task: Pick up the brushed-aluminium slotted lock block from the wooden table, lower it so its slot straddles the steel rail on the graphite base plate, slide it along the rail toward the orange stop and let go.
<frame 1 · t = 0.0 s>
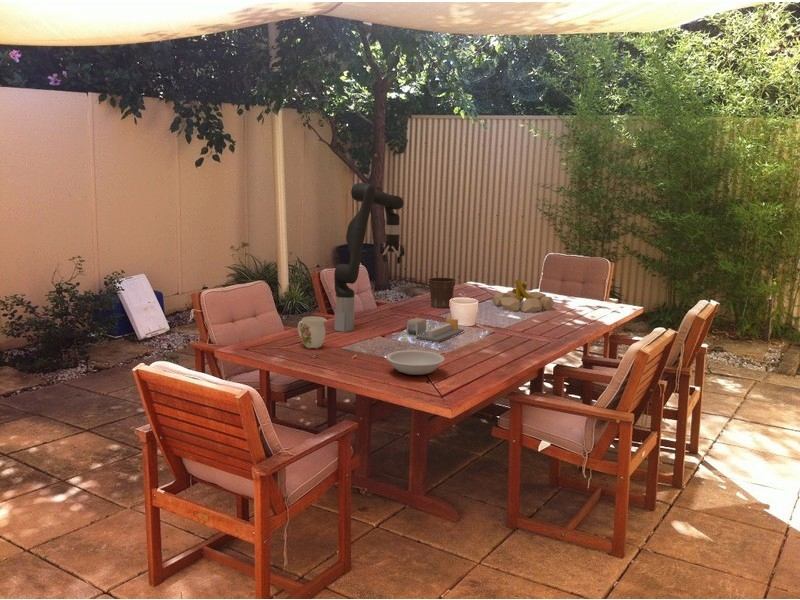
hand: (391, 262, 427), 29 cm above the table, tool pointing down, fingers open, 8 cm apart
coupler stand: (440, 335, 387), on the table
soup bowl: (414, 373, 321), on the table
campfire: (522, 307, 468), on the table
lock block: (416, 333, 391), on the table
plant pot: (440, 306, 463), on the table
pitcher: (311, 346, 359), on the table
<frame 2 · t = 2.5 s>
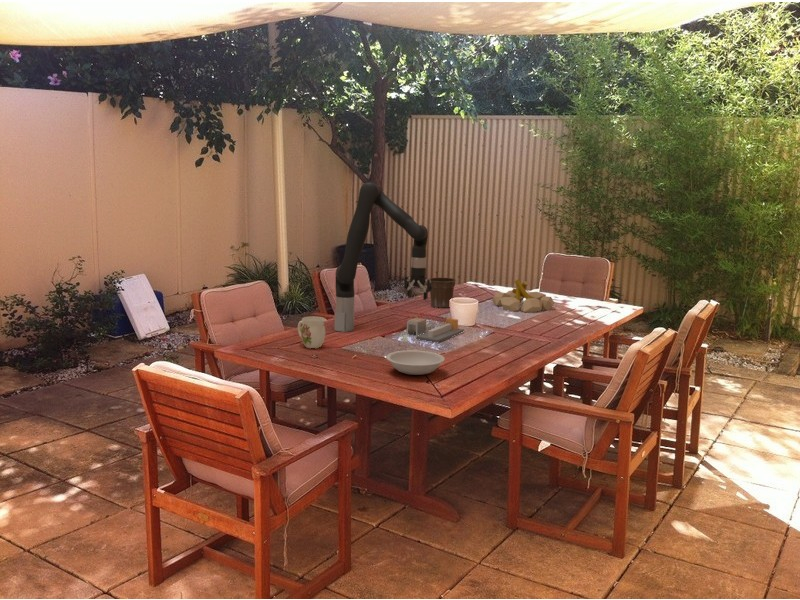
hand: (417, 298, 388), 18 cm above the table, tool pointing down, fingers open, 8 cm apart
nothing on the table moved.
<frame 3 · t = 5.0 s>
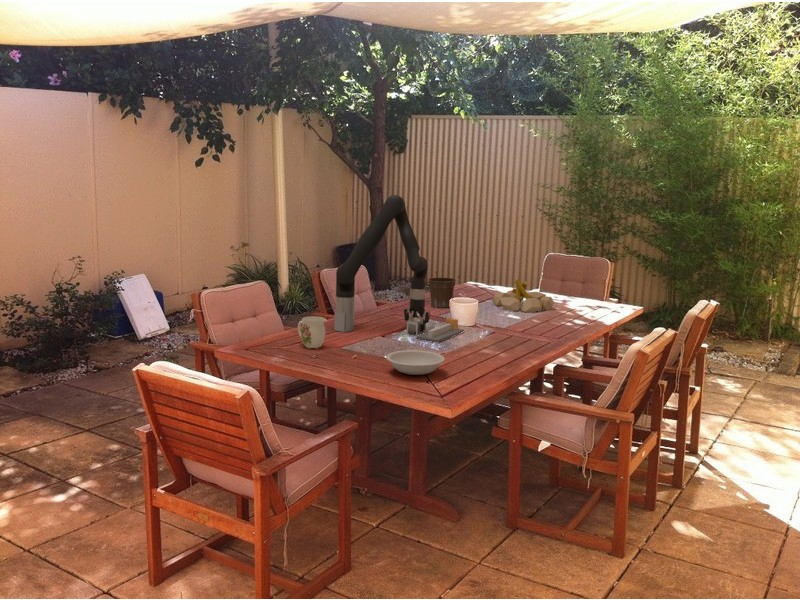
hand: (416, 330, 390), 2 cm above the table, tool pointing down, fingers closed on lock block, 6 cm apart
lock block: (416, 333, 391), on the table, touching gripper
everything else where it was.
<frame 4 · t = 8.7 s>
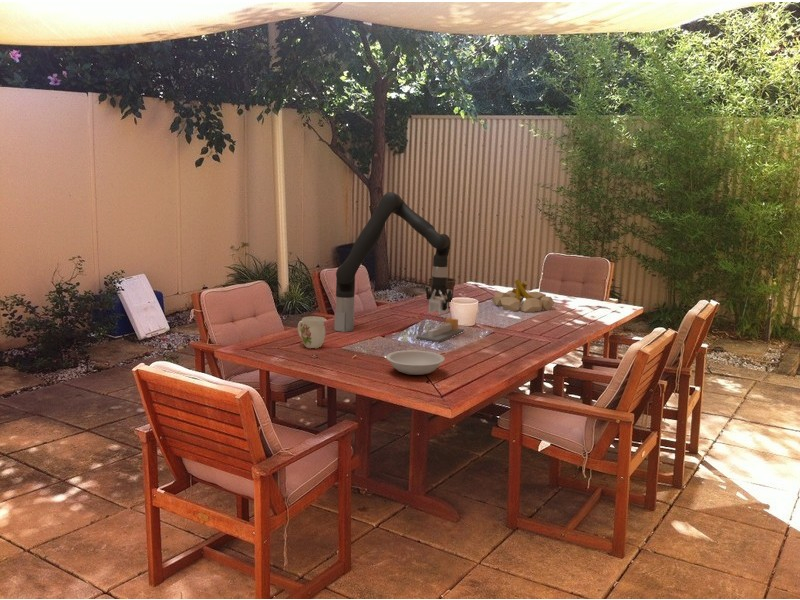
hand: (438, 309, 382), 14 cm above the table, tool pointing down, fingers closed on lock block, 6 cm apart
lock block: (438, 312, 383), point 12 cm above the table, touching gripper
everything else where it was.
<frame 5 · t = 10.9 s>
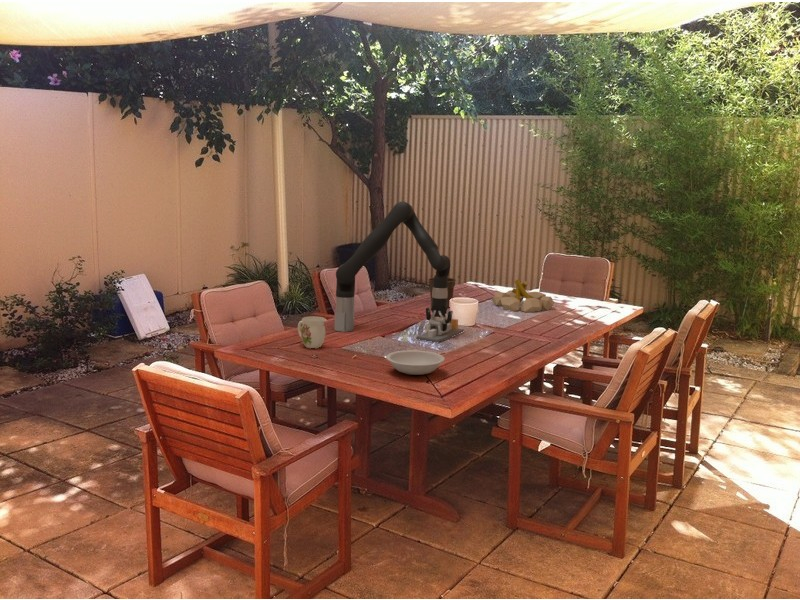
hand: (438, 329, 385), 3 cm above the table, tool pointing down, fingers closed on lock block, 6 cm apart
lock block: (438, 333, 385), point 2 cm above the table, touching gripper
everything else where it was.
when the fingers open (3 cm above the table, at t = 12.7 s): lock block stays where it is, resting on coupler stand.
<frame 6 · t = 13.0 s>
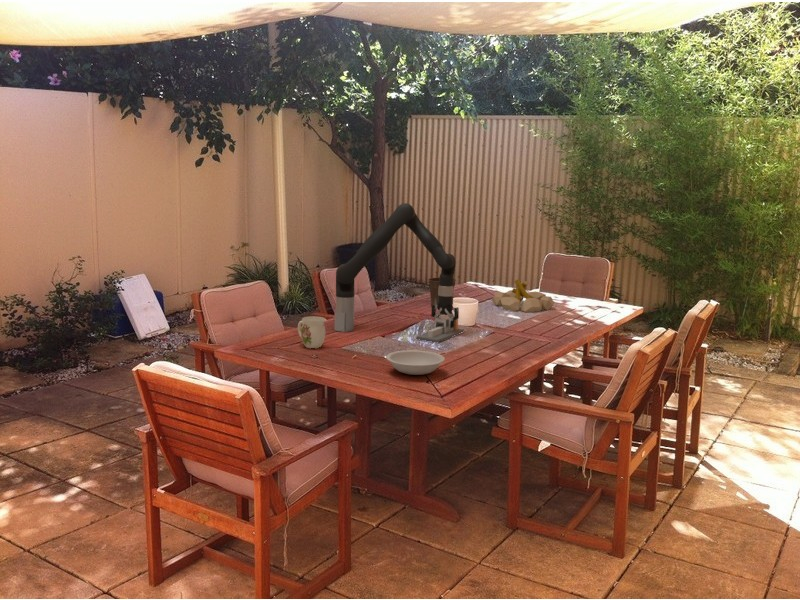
hand: (444, 326, 390), 4 cm above the table, tool pointing down, fingers open, 8 cm apart
lock block: (443, 331, 391), point 1 cm above the table, touching coupler stand
everything else where it was.
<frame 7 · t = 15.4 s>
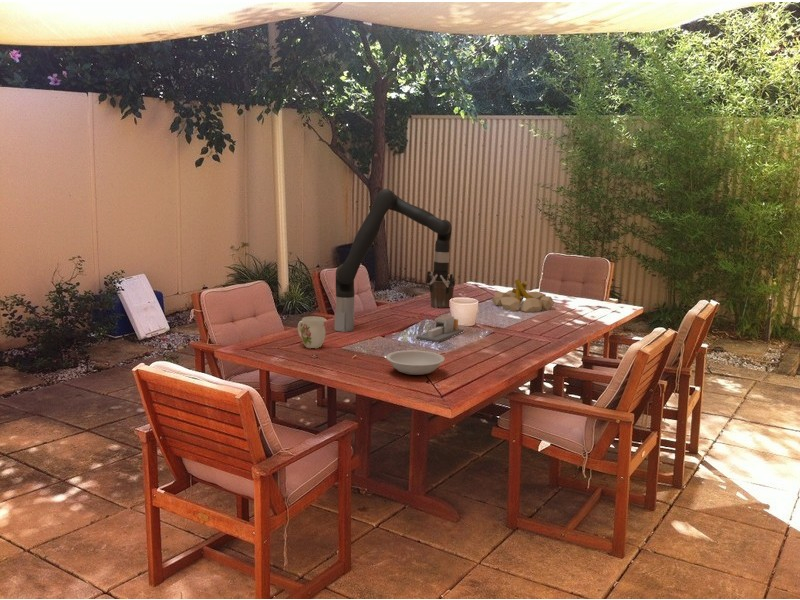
hand: (439, 293, 387), 21 cm above the table, tool pointing down, fingers open, 8 cm apart
nothing on the table moved.
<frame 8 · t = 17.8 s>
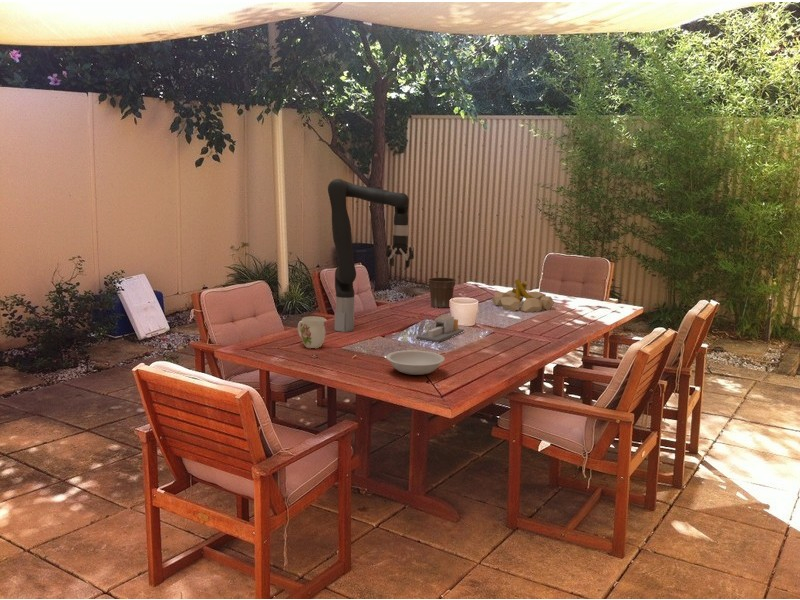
hand: (399, 266, 387), 33 cm above the table, tool pointing down, fingers open, 8 cm apart
nothing on the table moved.
at the end: lock block 0.5 cm from the target spot on the coupler stand, point 1.5 cm above the coupler stand's base; lock block tilted 0°; the gripper is holding nothing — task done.
